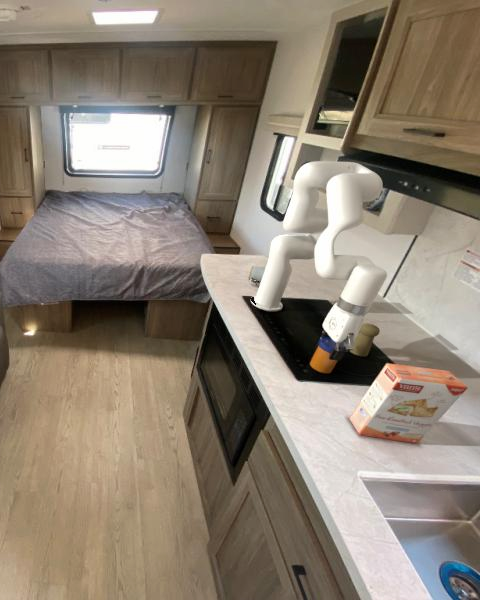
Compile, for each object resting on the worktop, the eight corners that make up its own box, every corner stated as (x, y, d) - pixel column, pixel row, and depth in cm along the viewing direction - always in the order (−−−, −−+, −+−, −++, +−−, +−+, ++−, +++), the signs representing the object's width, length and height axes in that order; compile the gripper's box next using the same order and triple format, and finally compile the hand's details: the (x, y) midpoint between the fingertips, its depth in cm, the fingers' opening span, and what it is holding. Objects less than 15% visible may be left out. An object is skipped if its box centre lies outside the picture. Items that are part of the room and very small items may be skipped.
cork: (359, 357, 114) (374, 332, 109) (343, 347, 119) (356, 322, 114) (372, 354, 116) (387, 329, 110) (355, 344, 121) (369, 319, 115)
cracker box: (359, 436, 86) (400, 378, 76) (347, 418, 92) (384, 361, 81) (419, 446, 84) (470, 387, 74) (404, 426, 90) (449, 369, 79)
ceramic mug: (248, 276, 169) (252, 262, 165) (266, 280, 165) (270, 266, 161) (245, 284, 161) (250, 270, 157) (264, 288, 157) (269, 274, 153)
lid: (314, 339, 109) (316, 335, 108) (337, 342, 108) (339, 338, 107) (323, 353, 103) (326, 348, 102) (348, 356, 102) (350, 351, 101)
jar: (306, 359, 113) (317, 337, 108) (326, 361, 112) (338, 339, 107) (314, 371, 108) (326, 349, 103) (335, 374, 107) (348, 352, 102)
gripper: (325, 290, 105) (305, 334, 115) (354, 319, 91) (328, 368, 100) (351, 292, 104) (328, 337, 113) (384, 323, 90) (355, 371, 99)
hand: (328, 351), depth 107 cm, fingers closed on lid, 7 cm apart
